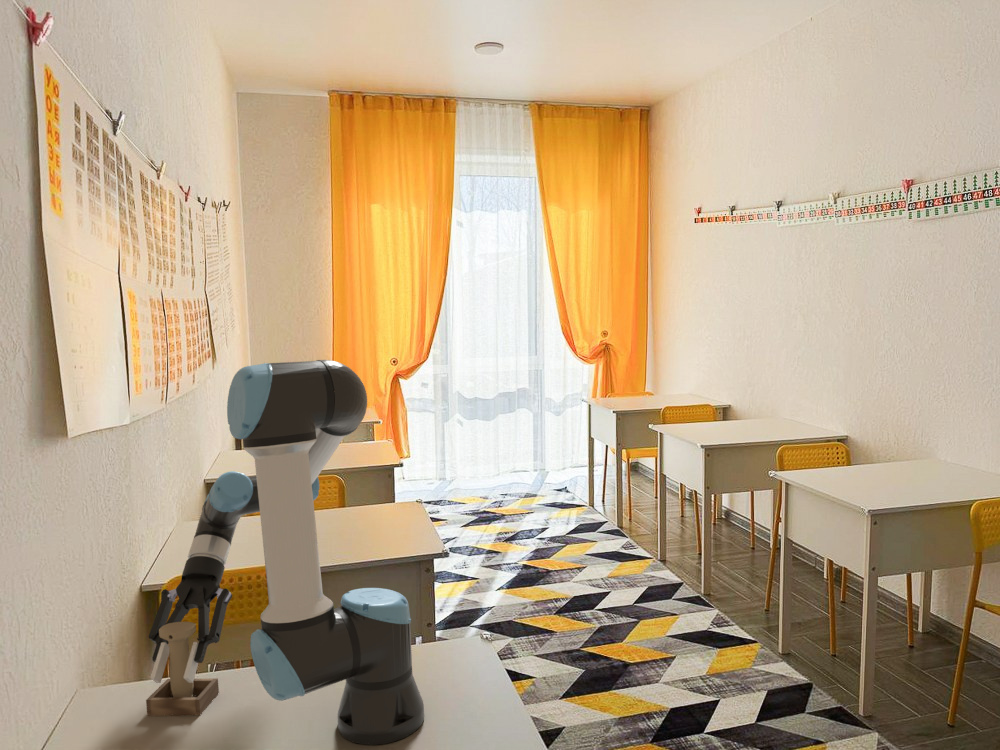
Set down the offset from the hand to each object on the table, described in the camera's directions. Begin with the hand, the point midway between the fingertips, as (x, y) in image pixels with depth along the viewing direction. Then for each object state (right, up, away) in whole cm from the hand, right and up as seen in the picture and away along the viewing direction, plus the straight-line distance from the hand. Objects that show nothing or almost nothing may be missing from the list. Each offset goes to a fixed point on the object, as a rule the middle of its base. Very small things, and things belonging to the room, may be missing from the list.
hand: (171, 680), depth 134 cm
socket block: (0, -6, +4) cm, 8 cm away
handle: (0, -6, +4) cm, 8 cm away
